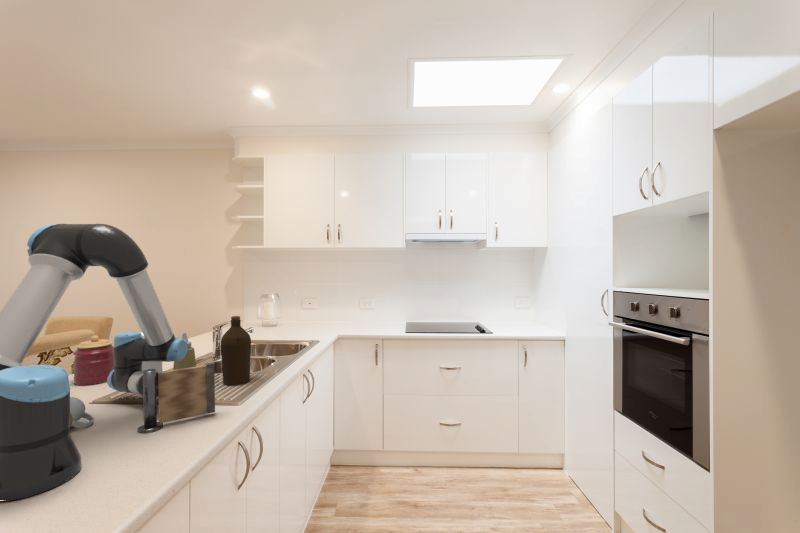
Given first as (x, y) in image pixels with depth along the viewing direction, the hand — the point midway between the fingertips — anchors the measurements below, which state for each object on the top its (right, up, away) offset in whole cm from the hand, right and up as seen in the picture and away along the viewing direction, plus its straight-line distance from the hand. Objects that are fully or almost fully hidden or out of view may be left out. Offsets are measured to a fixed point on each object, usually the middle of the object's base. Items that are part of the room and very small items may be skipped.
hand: (202, 392), depth 112 cm
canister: (-60, -7, +34) cm, 69 cm away
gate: (-2, -6, -3) cm, 7 cm away
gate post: (-10, -7, -9) cm, 15 cm away
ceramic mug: (-33, -8, -7) cm, 35 cm away
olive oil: (-3, -7, +31) cm, 32 cm away
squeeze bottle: (-25, -7, +35) cm, 43 cm away
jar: (-40, -7, +36) cm, 55 cm away
